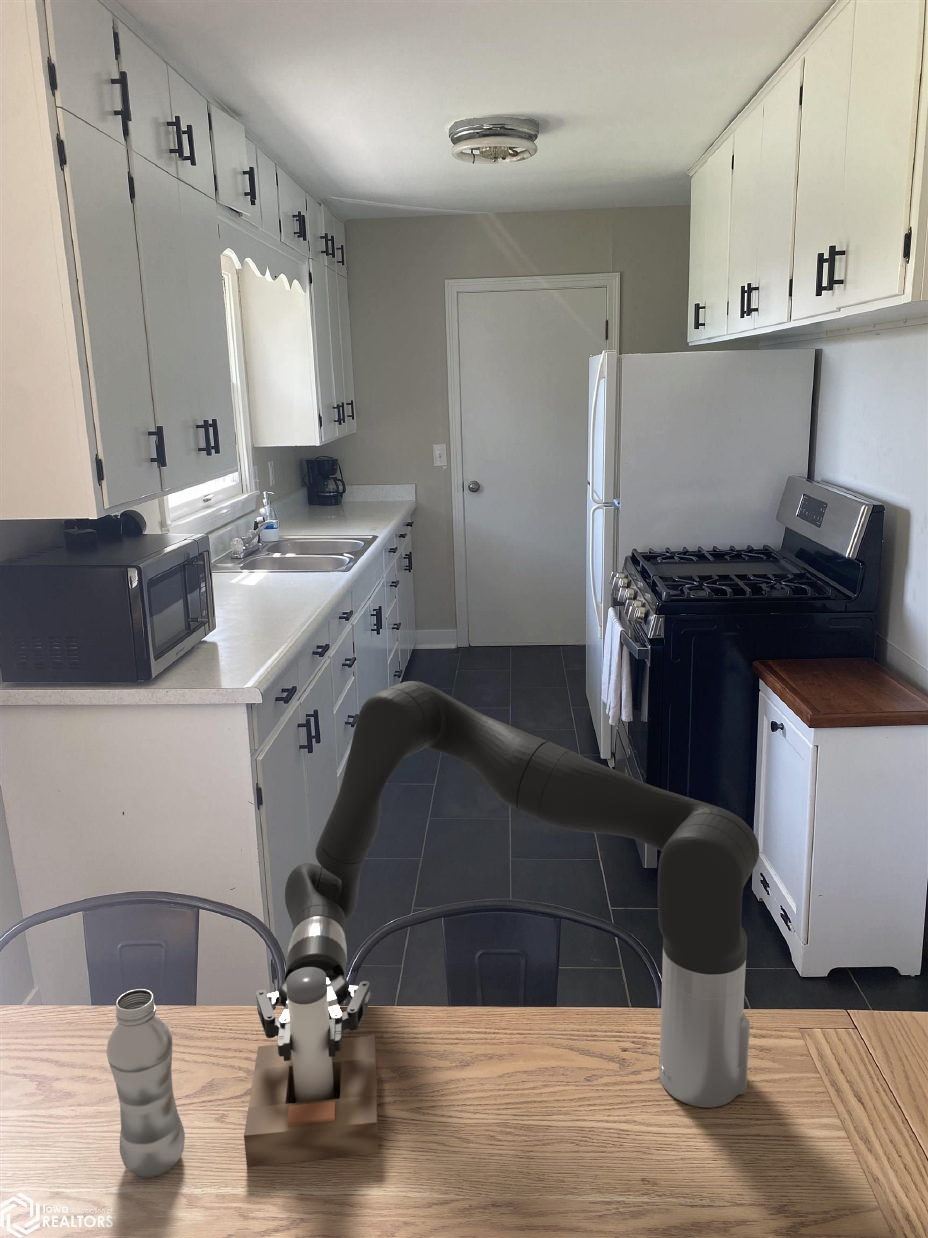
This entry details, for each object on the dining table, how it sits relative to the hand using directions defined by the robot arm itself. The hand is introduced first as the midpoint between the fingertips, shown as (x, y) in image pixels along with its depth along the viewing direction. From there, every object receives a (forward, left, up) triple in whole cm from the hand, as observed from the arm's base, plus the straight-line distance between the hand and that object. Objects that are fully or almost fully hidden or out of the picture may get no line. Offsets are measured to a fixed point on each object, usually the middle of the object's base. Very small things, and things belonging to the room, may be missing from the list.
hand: (309, 1051), depth 101 cm
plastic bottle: (+17, +2, -10) cm, 20 cm away
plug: (0, -3, -9) cm, 9 cm away
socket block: (0, -3, -10) cm, 11 cm away
